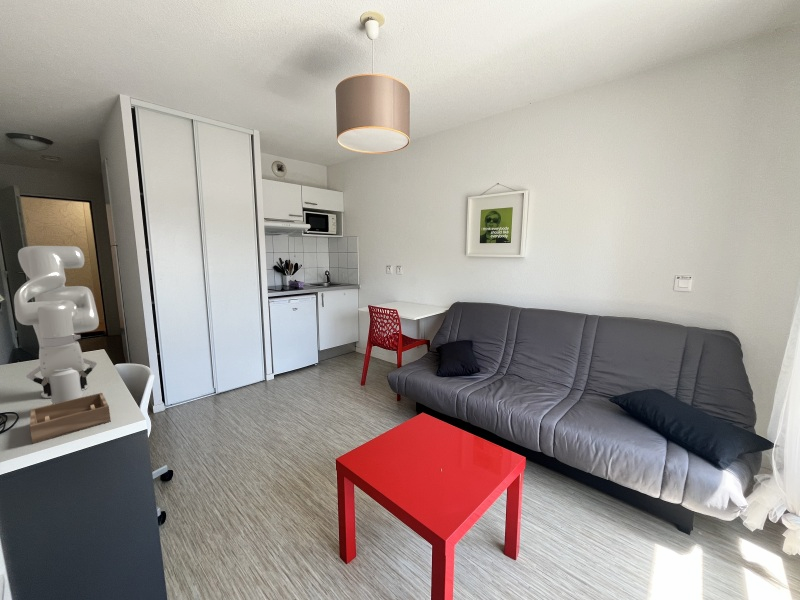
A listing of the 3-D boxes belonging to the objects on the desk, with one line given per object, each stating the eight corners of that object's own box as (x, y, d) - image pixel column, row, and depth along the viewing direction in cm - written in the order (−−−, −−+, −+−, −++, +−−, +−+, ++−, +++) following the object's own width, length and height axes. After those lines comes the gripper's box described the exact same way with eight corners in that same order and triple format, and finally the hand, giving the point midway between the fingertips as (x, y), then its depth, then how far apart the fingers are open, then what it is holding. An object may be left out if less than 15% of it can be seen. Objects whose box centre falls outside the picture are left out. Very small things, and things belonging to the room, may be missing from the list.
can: (89, 396, 114) (84, 363, 112) (65, 406, 107) (60, 371, 105) (70, 395, 115) (65, 362, 113) (45, 405, 107) (39, 370, 106)
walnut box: (33, 424, 99) (30, 409, 98) (104, 406, 111) (102, 392, 110) (32, 444, 88) (29, 426, 88) (110, 421, 100) (108, 406, 99)
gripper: (93, 334, 116) (99, 380, 119) (19, 344, 104) (28, 396, 106) (96, 338, 111) (102, 386, 114) (18, 349, 99) (27, 403, 101)
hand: (66, 391), depth 110 cm, fingers closed on can, 7 cm apart
